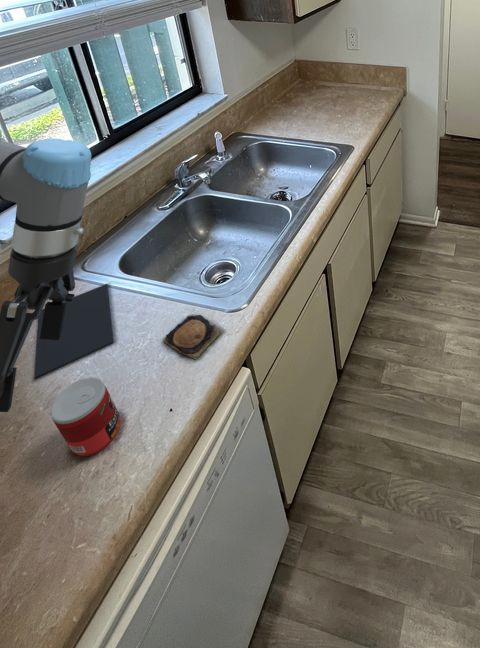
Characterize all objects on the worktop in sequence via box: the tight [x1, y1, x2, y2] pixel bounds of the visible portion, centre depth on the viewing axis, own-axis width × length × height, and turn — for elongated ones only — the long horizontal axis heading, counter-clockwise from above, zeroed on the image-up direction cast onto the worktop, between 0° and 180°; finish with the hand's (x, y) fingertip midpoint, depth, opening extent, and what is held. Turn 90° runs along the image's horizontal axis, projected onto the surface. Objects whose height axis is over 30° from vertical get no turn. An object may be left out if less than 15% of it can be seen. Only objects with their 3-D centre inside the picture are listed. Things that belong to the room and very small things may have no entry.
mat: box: [34, 283, 115, 379], centre depth 102 cm, size 14×20×1 cm
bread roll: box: [163, 314, 222, 360], centre depth 98 cm, size 11×8×4 cm
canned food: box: [49, 376, 122, 457], centre depth 79 cm, size 8×8×11 cm
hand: (26, 370), depth 66 cm, fingers open, 13 cm apart
